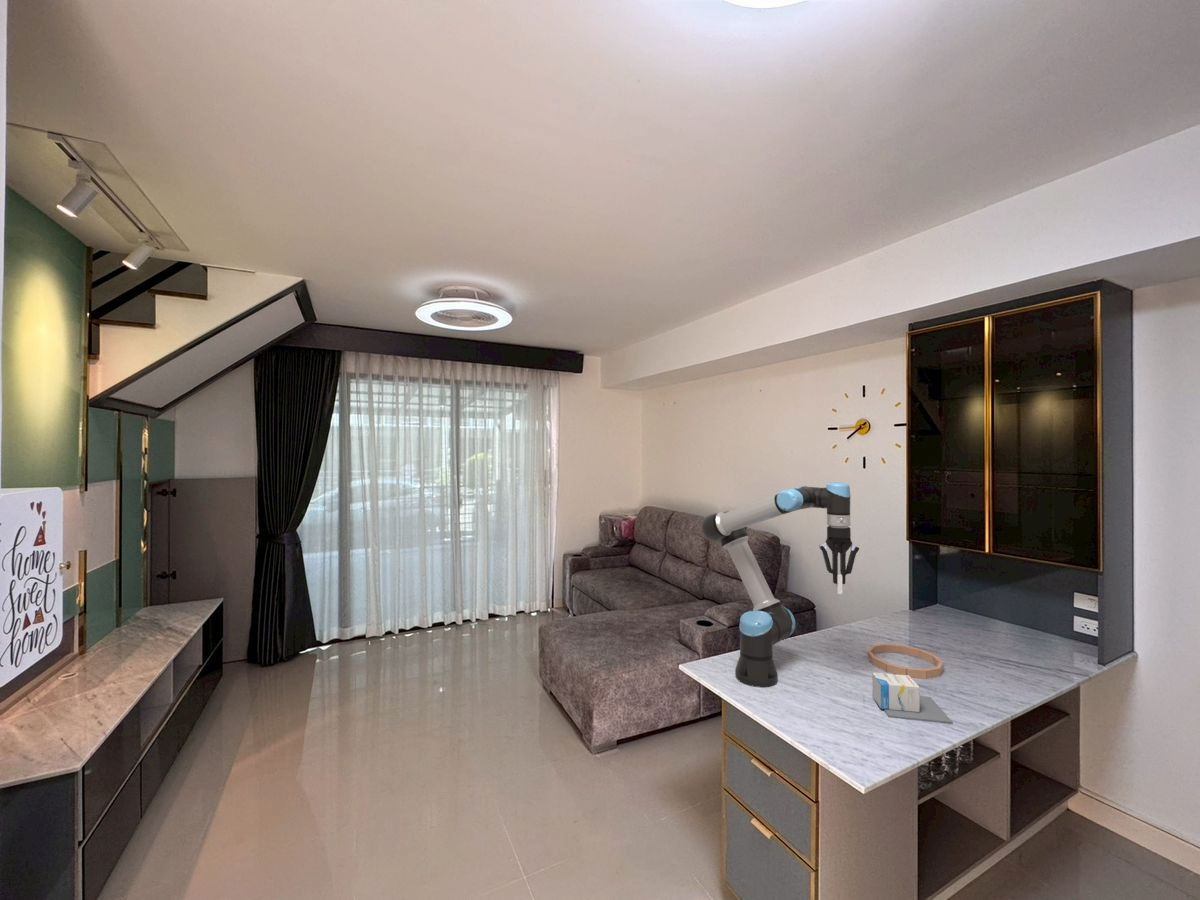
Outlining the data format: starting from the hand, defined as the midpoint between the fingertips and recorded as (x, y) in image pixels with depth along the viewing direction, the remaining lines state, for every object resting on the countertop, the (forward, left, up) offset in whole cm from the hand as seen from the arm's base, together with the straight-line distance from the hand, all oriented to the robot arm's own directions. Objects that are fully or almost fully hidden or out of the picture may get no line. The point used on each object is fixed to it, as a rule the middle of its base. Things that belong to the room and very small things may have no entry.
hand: (839, 592), depth 175 cm
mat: (+20, -8, -34) cm, 40 cm away
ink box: (+9, -8, -30) cm, 32 cm away
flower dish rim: (+30, +28, -34) cm, 54 cm away
